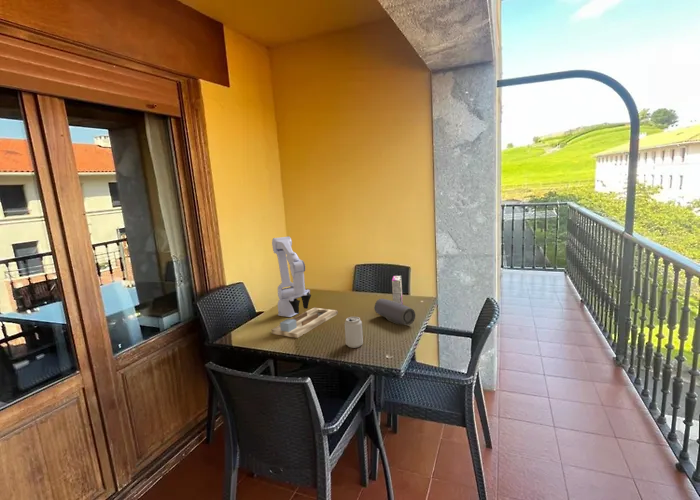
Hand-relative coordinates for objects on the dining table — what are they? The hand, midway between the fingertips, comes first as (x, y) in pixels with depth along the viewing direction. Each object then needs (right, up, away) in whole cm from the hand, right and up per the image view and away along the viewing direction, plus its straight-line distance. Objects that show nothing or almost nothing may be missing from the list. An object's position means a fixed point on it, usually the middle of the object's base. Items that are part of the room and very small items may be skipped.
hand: (301, 310), depth 185 cm
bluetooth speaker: (+48, -5, -1) cm, 48 cm away
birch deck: (+2, -7, +4) cm, 9 cm away
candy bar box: (+53, -1, +23) cm, 57 cm away
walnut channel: (+1, -5, +3) cm, 6 cm away
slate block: (-5, -8, -8) cm, 12 cm away
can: (+27, -11, -27) cm, 40 cm away
